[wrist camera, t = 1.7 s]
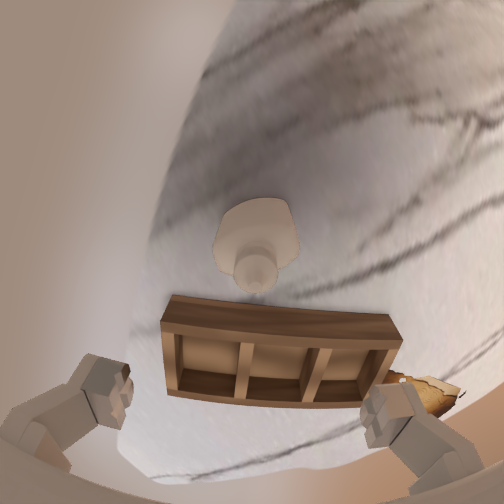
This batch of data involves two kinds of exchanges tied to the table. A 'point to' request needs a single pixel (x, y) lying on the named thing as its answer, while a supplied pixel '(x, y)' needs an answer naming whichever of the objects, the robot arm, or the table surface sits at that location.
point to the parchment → (429, 392)
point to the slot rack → (274, 354)
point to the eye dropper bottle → (256, 243)
